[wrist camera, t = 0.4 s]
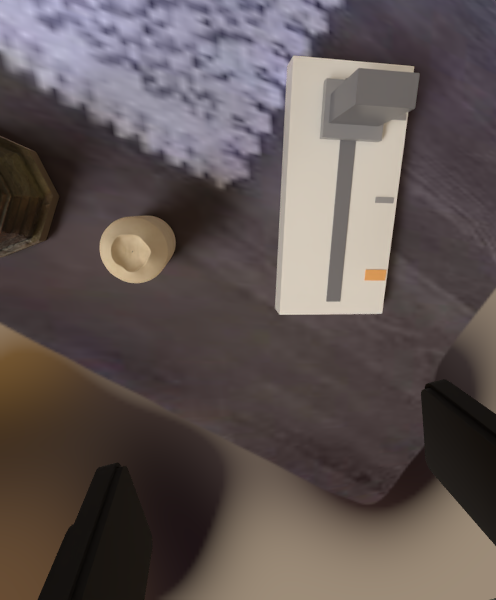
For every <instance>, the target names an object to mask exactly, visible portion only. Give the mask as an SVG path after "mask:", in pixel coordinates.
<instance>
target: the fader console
mask: <svg viewBox="0 0 496 600" xmlns="http://www.w3.org/2000/svg"><path fill="white" fill-rule="evenodd" d="M358 68H365V69H377V70H389V71H400V72H412V73H413V72H414V66H405V65H394V64H383V63H371V62H360V61H349V60H337V59H326V58H314V57H303V56H293V57H292V59H291V61H290V62H289V64H288V66H287V79H286V99H285V119H284V139H283V159H282V180H281V200H280V220H279V240H278V260H277V281H276V301H275V309H276V310H277V312H278V313H279V315H297V314H382V310H383V302H384V295H385V287H386V279H387V272H388V264H389V256H390V249H391V241H392V233H393V226H394V218H395V210H396V203H397V195H398V187H399V180H400V172H401V164H402V157H403V149H404V141H405V133H406V126H407V118H408V112H407V113H405V114H403V115H401V116H399V117H397V118H395V119H393V120H391V121H388V122H386V123H384V125H383V133H382V141H380V142H365V141H347V140H330V139H320V128H321V115H322V101H323V88H324V81H325V80H326V79H327V78H331V79H343V80H346V79H347V78H348V77H350V76H351V75H352V74H353V73H354V72H355V71H356V70H357V69H358Z"/></svg>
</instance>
